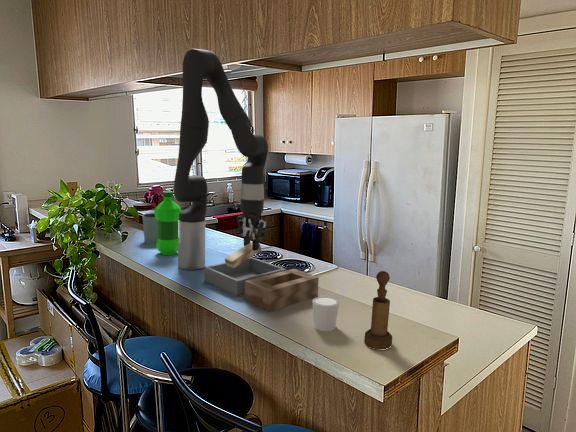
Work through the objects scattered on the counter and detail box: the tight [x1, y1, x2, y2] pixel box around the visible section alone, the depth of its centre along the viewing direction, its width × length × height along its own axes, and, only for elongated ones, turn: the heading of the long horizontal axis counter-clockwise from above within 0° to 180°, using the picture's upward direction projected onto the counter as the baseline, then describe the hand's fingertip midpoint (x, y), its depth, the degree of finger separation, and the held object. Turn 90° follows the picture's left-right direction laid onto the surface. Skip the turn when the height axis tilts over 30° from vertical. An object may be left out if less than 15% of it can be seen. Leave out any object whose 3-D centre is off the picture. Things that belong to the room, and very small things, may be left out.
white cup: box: [312, 296, 340, 332], centre depth 114 cm, size 7×7×7 cm
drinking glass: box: [141, 212, 158, 245], centre depth 196 cm, size 10×10×12 cm
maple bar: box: [224, 240, 262, 268], centre depth 144 cm, size 12×4×2 cm, turn 133°
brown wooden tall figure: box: [363, 270, 393, 350], centre depth 104 cm, size 7×6×18 cm
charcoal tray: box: [203, 256, 287, 298], centre depth 146 cm, size 20×18×5 cm
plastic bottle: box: [153, 190, 182, 256], centre depth 176 cm, size 10×10×25 cm
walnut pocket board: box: [243, 268, 320, 312], centre depth 133 cm, size 20×11×6 cm, turn 133°
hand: (251, 248), depth 146 cm, fingers closed on maple bar, 3 cm apart
